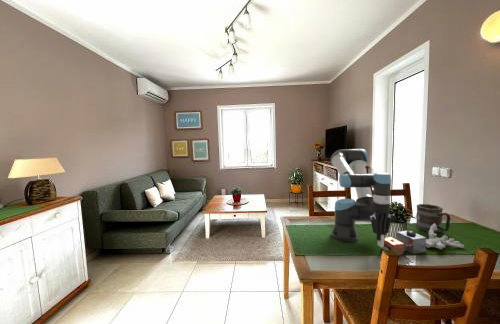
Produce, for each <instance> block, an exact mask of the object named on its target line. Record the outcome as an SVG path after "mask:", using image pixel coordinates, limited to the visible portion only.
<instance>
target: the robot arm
mask: <svg viewBox="0 0 500 324" xmlns="http://www.w3.org/2000/svg"><path fill="white" fill-rule="evenodd" d="M330 163H331V164H332V166H333V167H335V169H336V170H337V172H338V174H339V177H338V183H339V186H340V187H341V188H355V191H356V196H357V198H356V200H355V199H353V198H341V199H340V198H339V199H337V200H336V201H335V202H334V225H333V227H332V230H331V236H332V237H333V238H334V239H335V240H338V241H341V242H355V241H357V240H358V239H359V234H358V231H357V228H356V222H369V223H370V222H371V229H372V233H374V234H376V241H377V246H378V247H380V248H381V247H384V240H385V238H386V236H387V235H388V234H389V232H390V229H391V224H392V220H393V218H394V215H393V214H390V211H391V189H392V188H391V186H392V185H391V184H392V178H391V177H392V176H391V174H390V173H388V172H375V173H373V172H371V173H367V170H366V166H367V164H368V163H369V154H368V152H367V151H366V150H365V149H363V148H352V149H351V148H349V149H347V148H345V149H342V148H341V149H338V150H336V151H335V152H334V153H332V155H331V157H330ZM371 188H372V189H373V191H372V189H371ZM372 192H373V193H372Z"/></svg>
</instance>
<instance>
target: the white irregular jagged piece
mask: <svg viewBox="0 0 500 324" xmlns="http://www.w3.org/2000/svg"><path fill="white" fill-rule="evenodd" d="M435 230H438V229H437V226H436V224H435V223H434V224H433V225H432V226H431V228H430V230H429V232H428V233H427V234H428V238H426V249H427V248H430V247H431V248H436V249H438V250H442V249H443V248H444V249H445V248H446V246H449V247H455V248H460V249H464V248H465V245H464V244H463V243H461V242H460V241H458V240H455V238H451V237H449V236H447V235H446V234H443V235H442V236H441V237H438V235H437V233H435V232H434V231H435Z"/></svg>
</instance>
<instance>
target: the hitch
mask: <svg viewBox="0 0 500 324" xmlns="http://www.w3.org/2000/svg"><path fill="white" fill-rule="evenodd" d="M426 239H427V237H426V236H423V235H420V234H418V233H417V231H414V230H402V231H397V232H396V240H398V241H400V242H402V243H404V245H403V252H408V253H411V254H413V255H415V254H421V253H422V254H423V253H426V249H427V247H426ZM384 250H390V251H391V247H389V246H384ZM384 250H383V251H384Z"/></svg>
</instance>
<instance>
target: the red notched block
mask: <svg viewBox="0 0 500 324" xmlns="http://www.w3.org/2000/svg"><path fill="white" fill-rule="evenodd" d="M403 245H404V243H402V242H400V241H398V240H397V238H396V239H395V238H394V237H392V236H390V237H385V240H384V246H389V247H391V251H395V252H397V253H398V254H399V255H398V256H401V255H404V251H403ZM381 248H382V249H381ZM380 249H381V250H382V251H384V247H380Z"/></svg>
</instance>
